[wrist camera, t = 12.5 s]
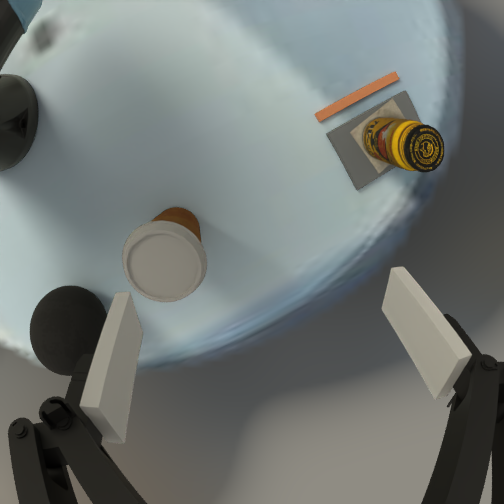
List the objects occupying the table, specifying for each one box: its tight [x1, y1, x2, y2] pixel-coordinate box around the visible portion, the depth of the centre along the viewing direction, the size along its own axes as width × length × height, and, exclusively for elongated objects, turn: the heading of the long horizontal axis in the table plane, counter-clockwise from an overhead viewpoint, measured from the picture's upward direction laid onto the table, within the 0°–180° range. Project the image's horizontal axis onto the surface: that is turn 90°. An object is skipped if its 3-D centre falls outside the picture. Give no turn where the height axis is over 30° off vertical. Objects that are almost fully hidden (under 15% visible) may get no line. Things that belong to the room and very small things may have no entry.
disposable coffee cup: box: [122, 207, 207, 302], centre depth 38 cm, size 10×10×12 cm
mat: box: [326, 91, 421, 190], centre depth 40 cm, size 9×14×1 cm, turn 123°
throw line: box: [315, 72, 399, 122], centre depth 38 cm, size 1×14×1 cm, turn 123°
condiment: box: [350, 98, 444, 173], centre depth 34 cm, size 7×8×12 cm
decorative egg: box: [30, 286, 107, 376], centre depth 41 cm, size 12×12×15 cm
